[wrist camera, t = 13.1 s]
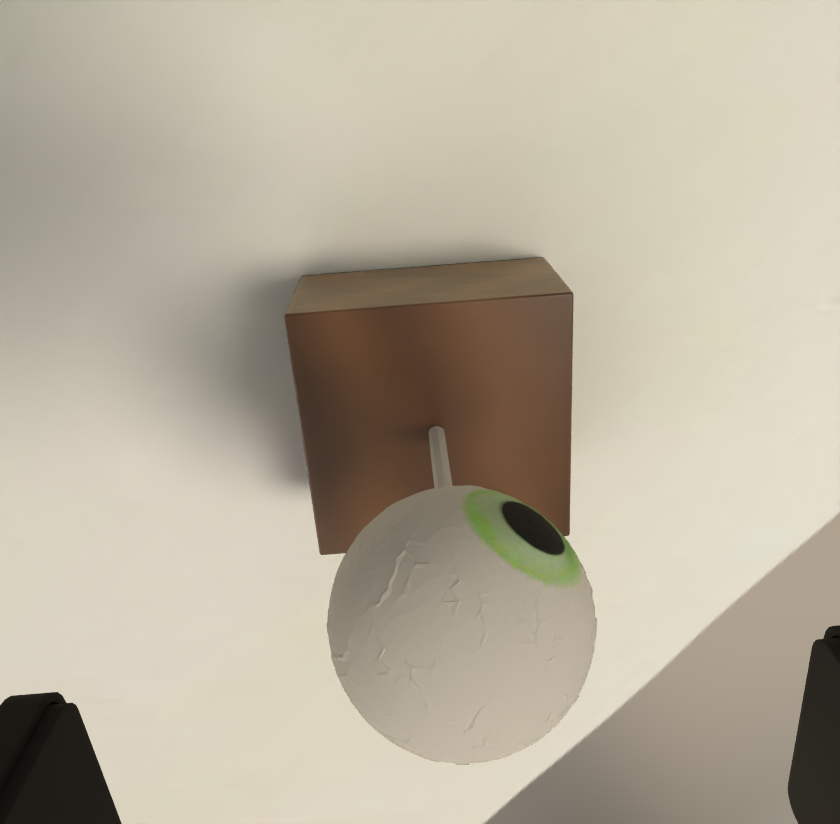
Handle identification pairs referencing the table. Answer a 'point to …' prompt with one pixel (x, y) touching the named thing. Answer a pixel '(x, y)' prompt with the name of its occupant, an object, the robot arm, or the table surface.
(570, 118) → the table surface
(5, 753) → the robot arm
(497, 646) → the lollipop
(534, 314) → the walnut block
